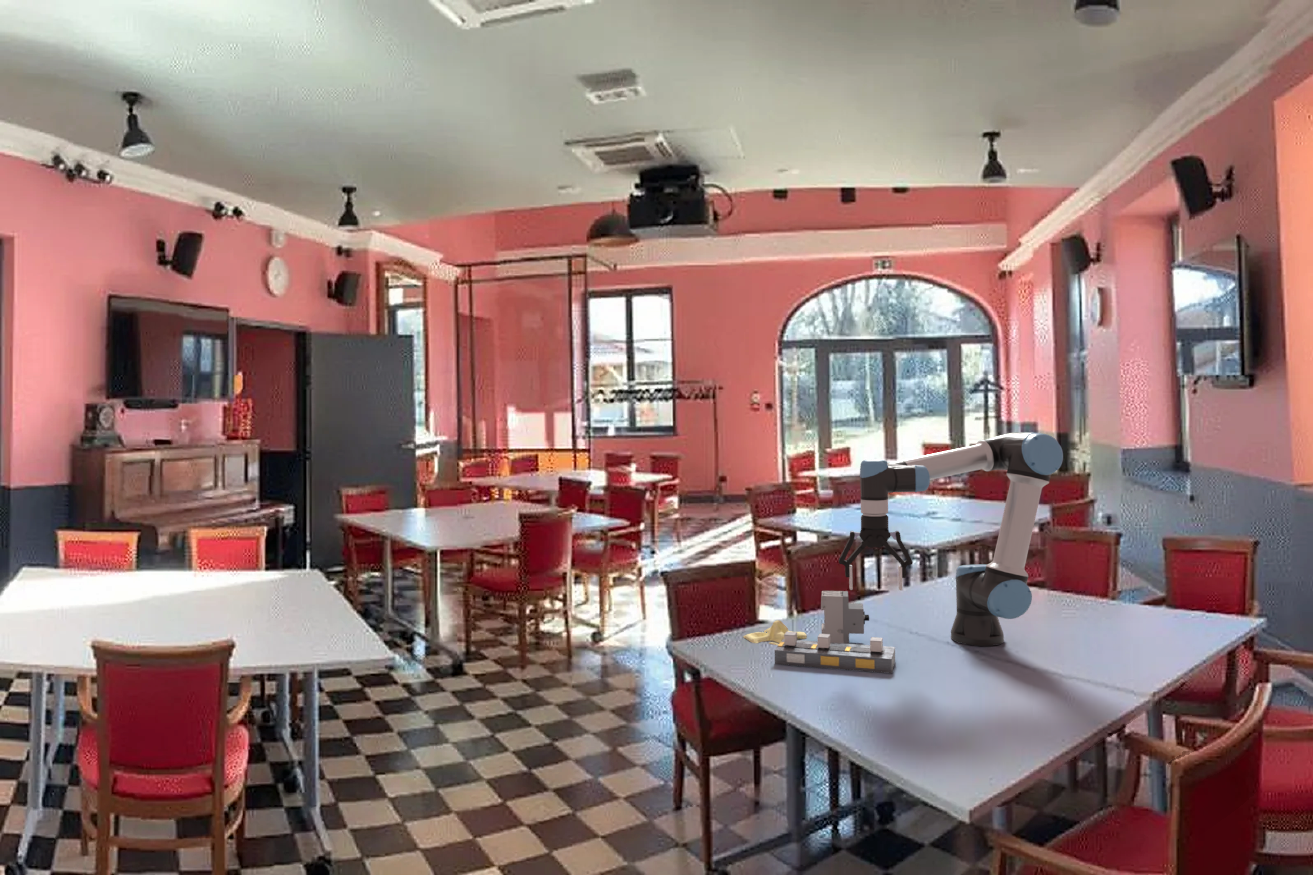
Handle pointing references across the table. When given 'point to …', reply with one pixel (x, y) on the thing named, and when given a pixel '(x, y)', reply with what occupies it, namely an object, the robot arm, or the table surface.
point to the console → (836, 656)
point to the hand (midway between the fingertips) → (875, 589)
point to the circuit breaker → (841, 616)
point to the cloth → (772, 634)
